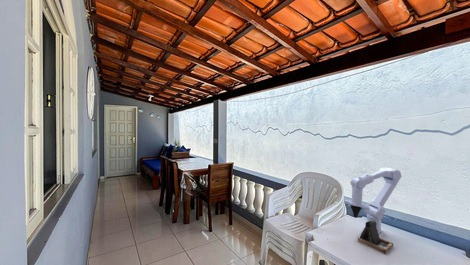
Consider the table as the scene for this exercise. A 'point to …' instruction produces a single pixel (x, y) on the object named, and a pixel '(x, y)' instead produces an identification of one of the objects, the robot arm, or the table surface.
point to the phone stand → (371, 230)
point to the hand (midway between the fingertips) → (355, 217)
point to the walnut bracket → (385, 250)
